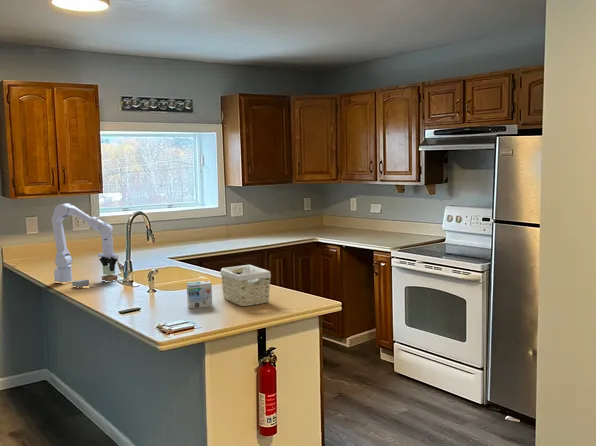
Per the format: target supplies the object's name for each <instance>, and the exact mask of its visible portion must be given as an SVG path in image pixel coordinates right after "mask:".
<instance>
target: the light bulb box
mask: <svg viewBox="0 0 596 446" xmlns="http://www.w3.org/2000/svg"><path fill="white" fill-rule="evenodd" d="M212 289H213V288H212V282H211V280H199V281H188V282H186V290H187V291H186V292H187V293H186V294H187V297H186V298H187V306H188V309H199V308H209V307H210V308H211V307H213V290H212Z"/></svg>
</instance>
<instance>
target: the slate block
mask: <svg viewBox="0 0 596 446" xmlns="http://www.w3.org/2000/svg"><path fill="white" fill-rule="evenodd" d="M72 281H73V282H72V283H71V285H72V287H73V286H76V287H83V286H88V285H89V286H90V280H89V279H79V280H72Z"/></svg>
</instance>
